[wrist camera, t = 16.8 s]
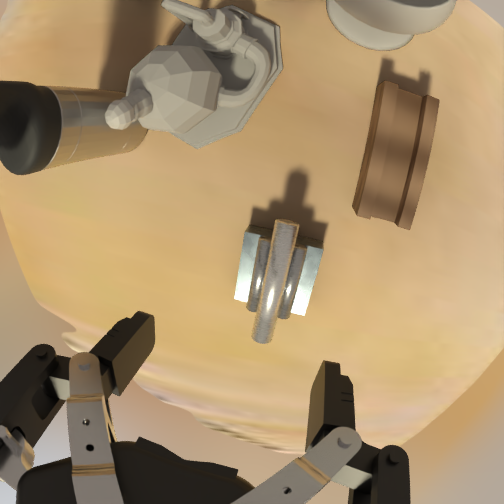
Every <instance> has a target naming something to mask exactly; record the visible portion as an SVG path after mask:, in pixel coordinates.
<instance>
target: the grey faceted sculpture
mask: <svg viewBox="0 0 504 504" xmlns="http://www.w3.org/2000/svg"><path fill="white" fill-rule="evenodd" d="M161 6H162V7H163V8H165V9H166V10H168V11H169V12H170V13H172V14H173V15H175V16H176V17H177V18H179V19H180V20H182V21H183V22H184V23H186V25H185V26H184V28H183V29H182V31H181V32H180V34H179V35H178V36H177V38H176V39H175V41H174V42H173V44H172V45H165V46H157V47H156V48H155V49H154V50H152V51H151V52H150V53H149V54H148V55H147V56H146V57H144V58H143V59H142V60H141V61H140V62H139V63H138V64H137V65H136V66H135V67H133V68H132V69H131V71H130V76H129V81H128V86H127V92H126V97H123V98H122V99H121V100H115V101H113V102H112V103H111V104H110V105H109V107H108V109H107V111H106V113H105V119H106V123H107V124H108V125H109V126H110V127H111V128H113V129H120V130H123V129H125V128H127V127H128V126H129V125H130V124H131V123H133V122H135V121H136V120H138V121H139V122H140V124H141V125H142V127H144V128H147V129H149V130H156V131H164V132H170V133H171V134H172V135H174V136H175V137H177V138H179V139H181V140H182V141H184V142H186V143H187V144H189V145H191V146H193V147H194V148H196V149H199V148H201V147H204V146H206V145H208V144H210V143H213V142H215V141H217V140H219V139H222V138H224V137H227V136H229V135H232V134H235V133H237V132H240V131H241V130H242V129H243V127H244V126H245V124H246V123H247V121H248V120H249V118H250V117H251V115H252V114H253V112H254V111H255V109H256V108H257V106H258V105H259V103H260V102H261V100H262V99H263V97H264V96H265V94H266V93H267V91H268V90H269V88H270V87H271V85H272V84H273V83H274V81H275V80H276V78H277V77H278V75H279V74H280V72H281V71H282V70H283V65H282V57H281V49H280V27H279V26H276V25H274V24H272V23H270V22H268V21H266V20H264V19H261V18H259V17H257V16H255V15H253V14H251V13H248V12H246V11H244V10H242V9H240V8H238V7H236V6H233V5H230V6H225V7H223V8H221V9H210V8H208V9H206V10H203V9H200V8H197V7H195V6H192V5H189V4H187V3H184V2H181V1H178V0H163V1H162V3H161Z"/></svg>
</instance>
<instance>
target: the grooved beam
mask: <svg viewBox="0 0 504 504" xmlns="http://www.w3.org/2000/svg"><path fill="white" fill-rule="evenodd" d="M398 86H399V84H395V83H392V82H389V81H386V80H385V81H384V82H382V83H381V84H380V85H378V86H377V88H376V94H375V100H374V106H373V112H372V118H371V123H370V128H369V133H368V138H367V143H366V148H365V153H364V158H363V162H362V167H361V171H360V176H359V180H358V184H357V188H356V193H355V197H354V201H353V205H352V207H353V209H354V211H355V213H356V215H357V216H359V217H363V218H367V219H370V218H371V216H372V217H376V218H380V219H383V220H387V221H391V222H394V223H395V224H396V225H397V226H398V227H401V228H404V229H408V230H410V228H411V225H412V222H413V218H414V215H415V212H416V208H417V205H418V201H419V197H420V194H421V190H422V186H423V182H424V178H425V174H426V170H427V165H428V161H429V156H430V152H431V147H432V142H433V137H434V131H435V126H436V120H437V114H438V107H439V99H437V98H434V97H432V96H429V95H426V96H423V97H422V96H419V95H417V94H414V93H411V92H408V91H405V90H402V89H399V88H398Z"/></svg>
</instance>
